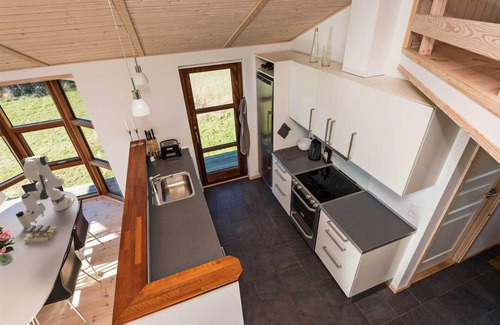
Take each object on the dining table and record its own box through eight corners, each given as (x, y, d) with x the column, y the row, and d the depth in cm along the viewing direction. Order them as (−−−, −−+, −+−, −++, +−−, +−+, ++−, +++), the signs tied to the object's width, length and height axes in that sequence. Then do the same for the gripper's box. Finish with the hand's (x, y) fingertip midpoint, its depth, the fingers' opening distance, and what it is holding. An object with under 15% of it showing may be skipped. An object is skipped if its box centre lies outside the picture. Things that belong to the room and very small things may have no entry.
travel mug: (27, 229, 259) (18, 215, 249) (22, 228, 261) (13, 214, 251) (33, 225, 265) (24, 211, 255) (28, 224, 266) (19, 210, 256)
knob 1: (33, 230, 252) (30, 225, 249) (38, 230, 253) (35, 225, 249) (28, 236, 246) (24, 231, 242) (32, 236, 246) (29, 230, 242)
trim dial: (32, 236, 245) (30, 234, 244) (35, 236, 245) (33, 234, 244) (30, 238, 243) (28, 236, 241) (33, 238, 243) (31, 236, 241)
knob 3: (47, 229, 253) (44, 224, 249) (52, 229, 253) (49, 224, 250) (42, 235, 246) (39, 230, 243) (47, 235, 246) (44, 230, 243)
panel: (36, 230, 258) (34, 227, 256) (58, 229, 259) (56, 226, 257) (25, 242, 244) (23, 239, 242) (48, 241, 245) (46, 238, 243)
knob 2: (40, 230, 253) (37, 224, 249) (45, 229, 253) (42, 224, 249) (35, 235, 246) (32, 230, 242) (40, 235, 246) (36, 230, 242)
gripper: (37, 201, 243) (43, 212, 250) (22, 215, 225) (28, 226, 232) (44, 201, 243) (49, 212, 250) (29, 215, 225) (35, 226, 232)
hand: (39, 219), depth 241 cm, fingers open, 8 cm apart
